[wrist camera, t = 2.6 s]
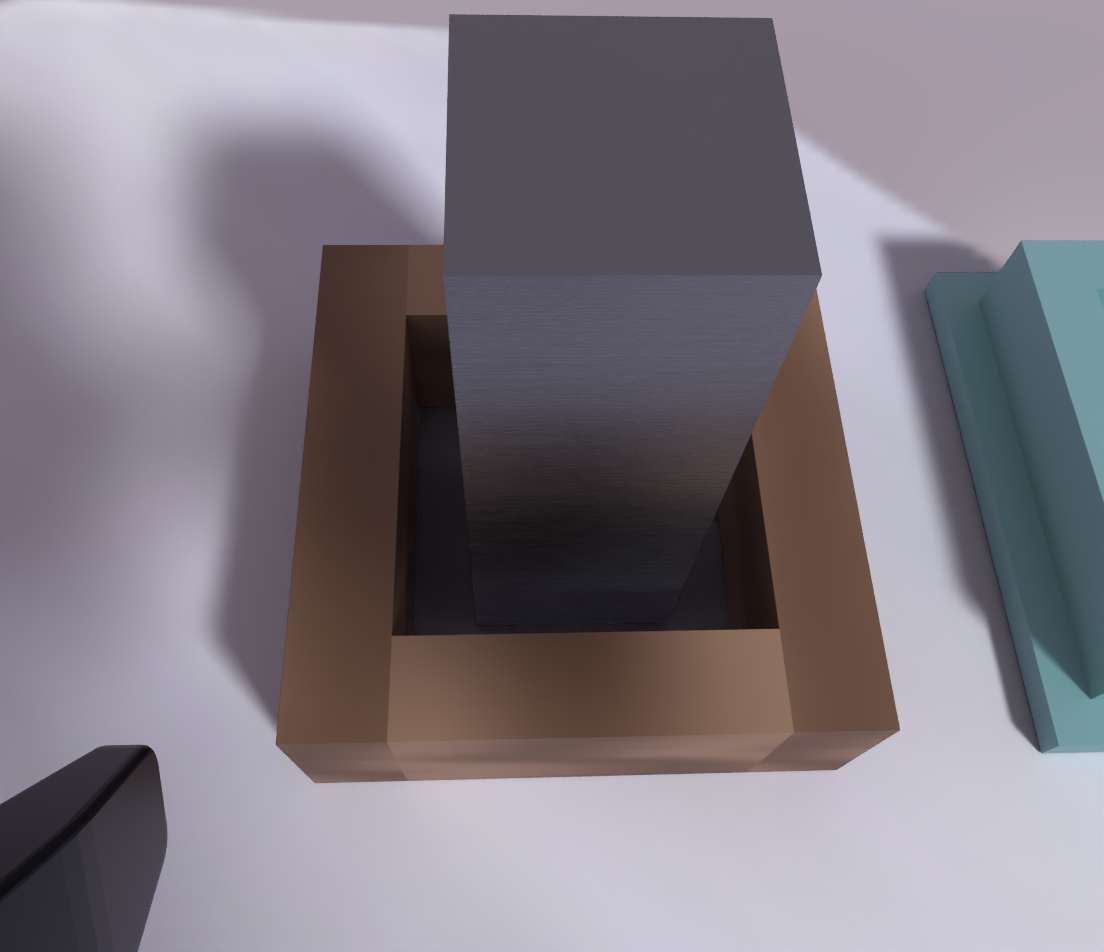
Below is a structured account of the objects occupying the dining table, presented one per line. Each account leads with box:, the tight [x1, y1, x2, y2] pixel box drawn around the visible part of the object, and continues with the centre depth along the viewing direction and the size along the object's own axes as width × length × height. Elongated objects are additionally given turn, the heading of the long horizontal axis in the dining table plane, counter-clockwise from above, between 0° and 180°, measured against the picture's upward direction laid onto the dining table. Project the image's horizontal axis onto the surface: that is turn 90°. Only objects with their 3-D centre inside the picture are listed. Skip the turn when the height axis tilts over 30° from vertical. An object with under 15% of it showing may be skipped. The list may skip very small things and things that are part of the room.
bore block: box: [276, 245, 900, 783], centre depth 22 cm, size 12×12×4 cm
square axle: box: [443, 14, 822, 626], centre depth 18 cm, size 4×4×13 cm
